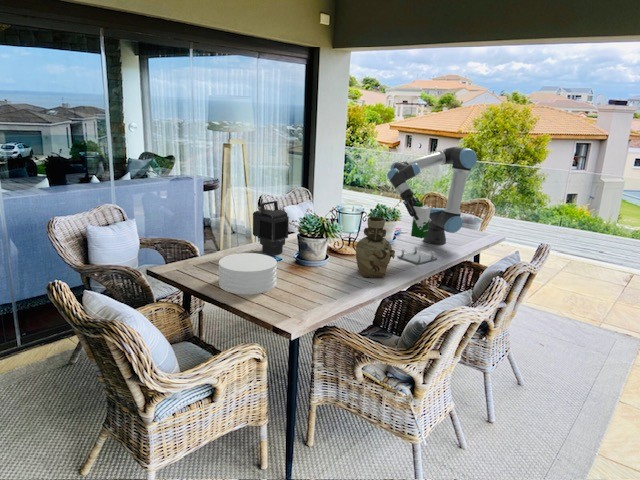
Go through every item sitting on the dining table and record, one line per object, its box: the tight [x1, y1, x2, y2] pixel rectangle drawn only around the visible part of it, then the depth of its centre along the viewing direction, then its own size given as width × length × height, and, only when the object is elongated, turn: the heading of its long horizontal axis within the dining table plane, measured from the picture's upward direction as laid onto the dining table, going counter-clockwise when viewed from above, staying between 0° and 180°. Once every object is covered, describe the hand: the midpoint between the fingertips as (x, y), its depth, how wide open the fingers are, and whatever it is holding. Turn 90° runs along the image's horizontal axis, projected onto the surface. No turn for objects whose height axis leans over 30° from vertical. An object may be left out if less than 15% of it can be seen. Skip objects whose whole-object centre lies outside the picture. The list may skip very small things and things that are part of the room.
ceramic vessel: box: [355, 216, 396, 279], centre depth 256 cm, size 19×21×30 cm
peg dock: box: [396, 245, 438, 266], centre depth 288 cm, size 18×16×5 cm
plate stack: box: [218, 252, 278, 295], centre depth 235 cm, size 28×28×12 cm
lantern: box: [252, 200, 290, 256], centre depth 285 cm, size 15×18×30 cm
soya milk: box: [410, 201, 432, 239], centre depth 282 cm, size 9×9×20 cm
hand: (425, 223), depth 281 cm, fingers closed on soya milk, 9 cm apart
